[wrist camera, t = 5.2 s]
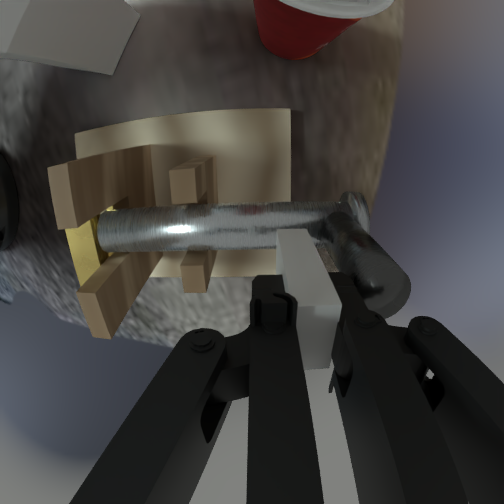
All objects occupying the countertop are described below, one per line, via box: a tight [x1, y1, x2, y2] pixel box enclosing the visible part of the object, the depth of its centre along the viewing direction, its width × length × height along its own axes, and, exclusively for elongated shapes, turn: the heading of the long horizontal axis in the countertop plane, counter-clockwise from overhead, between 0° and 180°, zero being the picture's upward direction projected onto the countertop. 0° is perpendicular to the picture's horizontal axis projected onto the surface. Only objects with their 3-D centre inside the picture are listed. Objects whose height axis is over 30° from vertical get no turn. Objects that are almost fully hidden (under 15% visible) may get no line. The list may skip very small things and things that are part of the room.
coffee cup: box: [254, 0, 394, 60], centre depth 13 cm, size 8×8×15 cm
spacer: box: [65, 206, 114, 286], centre depth 21 cm, size 2×8×8 cm, turn 1°
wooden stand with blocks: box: [47, 108, 291, 339], centre depth 20 cm, size 21×16×14 cm
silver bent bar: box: [97, 191, 411, 319], centre depth 15 cm, size 17×4×11 cm, turn 91°
